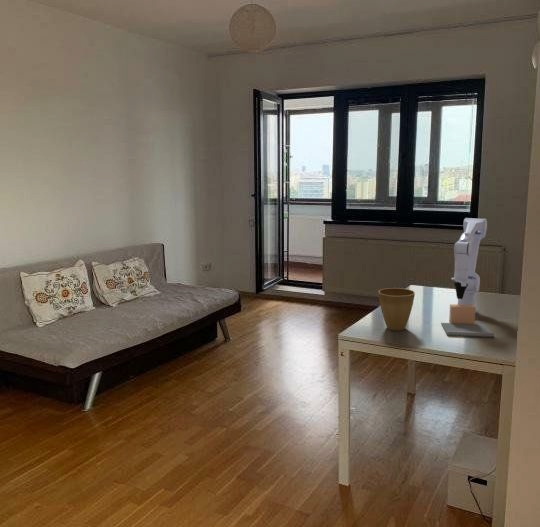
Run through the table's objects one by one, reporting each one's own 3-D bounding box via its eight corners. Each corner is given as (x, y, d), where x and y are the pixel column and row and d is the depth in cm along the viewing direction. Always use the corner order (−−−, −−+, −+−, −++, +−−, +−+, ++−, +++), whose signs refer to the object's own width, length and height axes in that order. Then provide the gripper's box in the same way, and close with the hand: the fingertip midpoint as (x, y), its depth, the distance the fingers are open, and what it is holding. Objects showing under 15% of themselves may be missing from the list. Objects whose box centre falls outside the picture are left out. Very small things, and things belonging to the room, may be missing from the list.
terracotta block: (449, 321, 238) (450, 304, 237) (472, 322, 237) (473, 305, 235) (450, 324, 235) (451, 306, 233) (474, 325, 233) (475, 307, 232)
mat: (441, 324, 235) (441, 320, 234) (484, 325, 232) (484, 321, 232) (447, 335, 219) (447, 331, 219) (493, 337, 217) (494, 333, 216)
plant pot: (417, 325, 233) (419, 289, 230) (407, 335, 220) (408, 297, 217) (384, 321, 240) (385, 286, 237) (372, 330, 228) (373, 293, 225)
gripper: (449, 265, 246) (447, 294, 248) (455, 271, 232) (453, 302, 234) (465, 265, 245) (463, 294, 247) (472, 272, 231) (470, 302, 233)
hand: (459, 298), depth 241 cm, fingers closed
